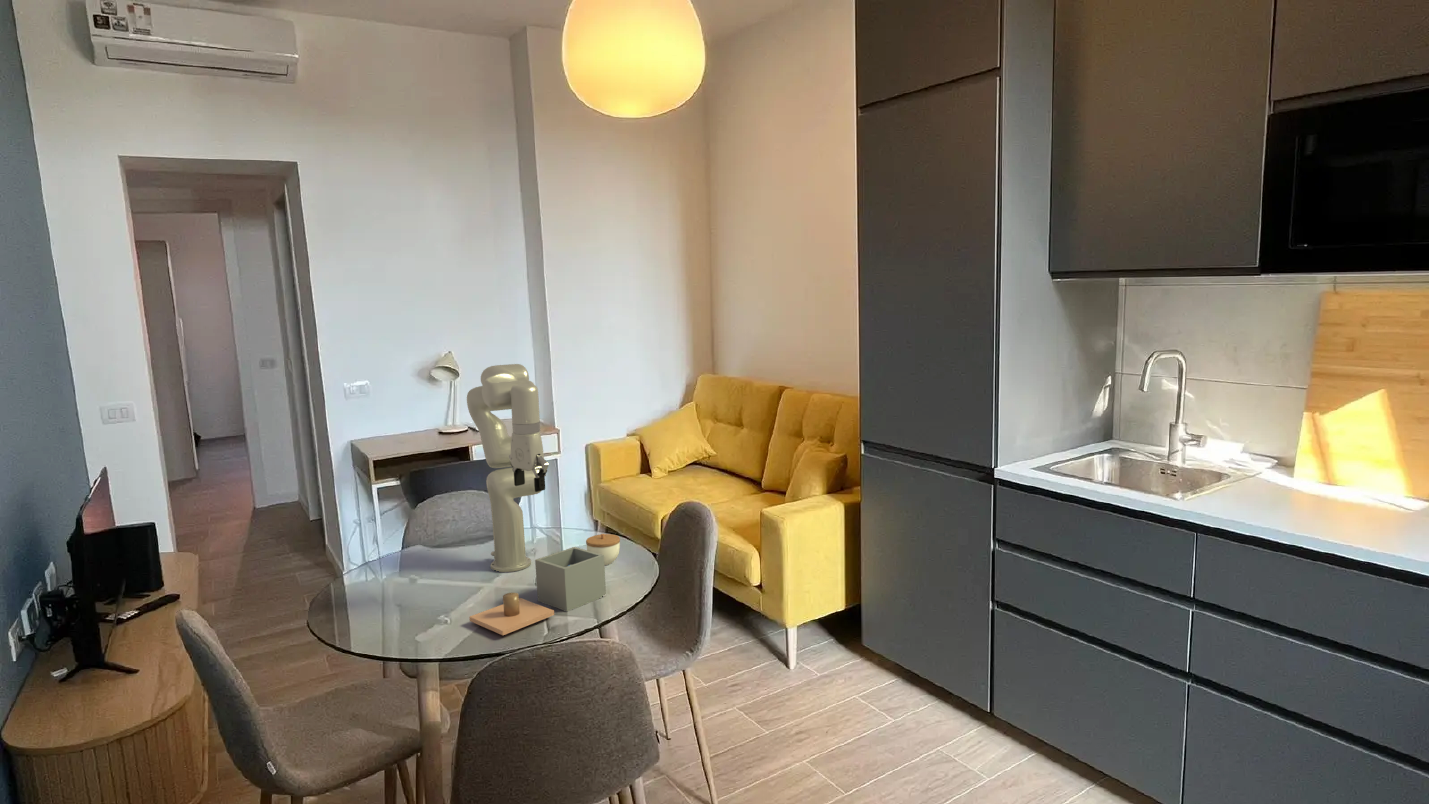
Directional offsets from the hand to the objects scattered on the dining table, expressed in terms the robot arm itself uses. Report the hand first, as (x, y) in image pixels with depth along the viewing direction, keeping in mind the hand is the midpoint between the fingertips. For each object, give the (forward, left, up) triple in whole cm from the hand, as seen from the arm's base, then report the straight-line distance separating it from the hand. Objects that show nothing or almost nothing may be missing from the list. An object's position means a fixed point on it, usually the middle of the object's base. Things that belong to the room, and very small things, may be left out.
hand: (529, 487), depth 225 cm
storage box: (+11, +4, -31) cm, 34 cm away
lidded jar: (-5, +30, -32) cm, 44 cm away
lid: (+11, -16, -31) cm, 37 cm away
